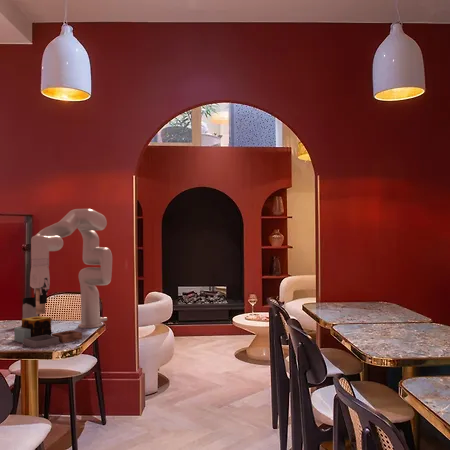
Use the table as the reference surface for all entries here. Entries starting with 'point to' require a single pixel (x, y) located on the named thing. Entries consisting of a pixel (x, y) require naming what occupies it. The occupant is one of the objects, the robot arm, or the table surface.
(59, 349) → the table surface
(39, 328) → the candle
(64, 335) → the socket block
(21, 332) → the block
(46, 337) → the tray
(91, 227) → the robot arm
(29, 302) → the glass holder
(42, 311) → the dowel
